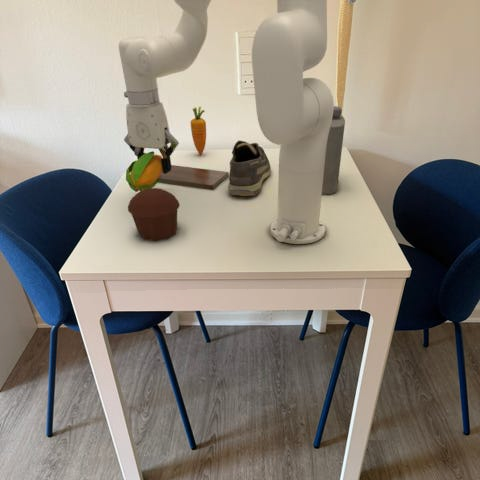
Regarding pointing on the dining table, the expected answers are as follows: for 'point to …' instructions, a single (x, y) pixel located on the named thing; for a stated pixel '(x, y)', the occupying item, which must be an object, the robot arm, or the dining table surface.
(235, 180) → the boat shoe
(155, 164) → the corn
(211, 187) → the board
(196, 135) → the carrot
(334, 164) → the flask
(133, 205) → the muffin
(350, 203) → the dining table surface
